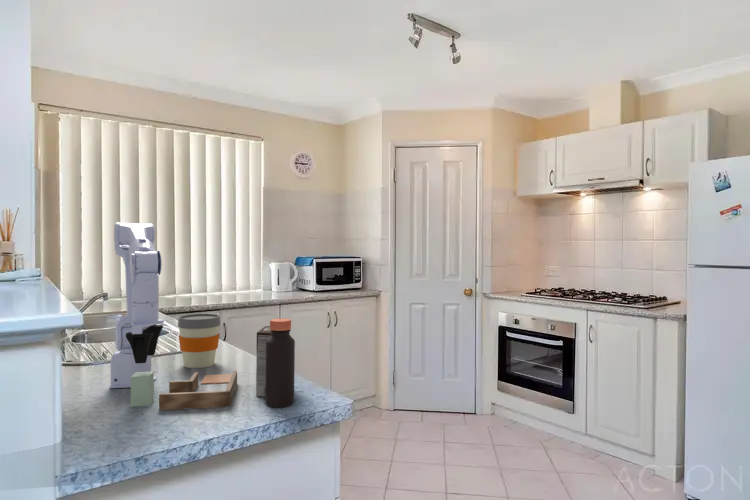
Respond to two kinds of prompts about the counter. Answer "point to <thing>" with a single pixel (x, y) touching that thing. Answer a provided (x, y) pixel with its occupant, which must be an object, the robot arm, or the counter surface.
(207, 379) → the tile
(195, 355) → the reusable coffee cup
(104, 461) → the counter surface
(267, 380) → the bottle
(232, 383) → the channel
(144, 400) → the sage block
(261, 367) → the coffee box
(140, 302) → the robot arm
